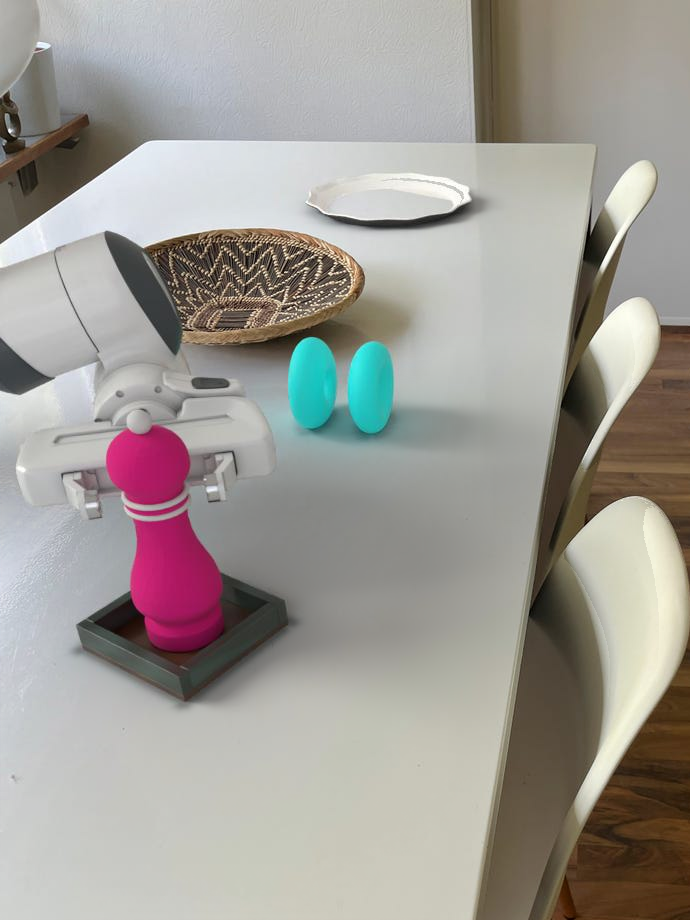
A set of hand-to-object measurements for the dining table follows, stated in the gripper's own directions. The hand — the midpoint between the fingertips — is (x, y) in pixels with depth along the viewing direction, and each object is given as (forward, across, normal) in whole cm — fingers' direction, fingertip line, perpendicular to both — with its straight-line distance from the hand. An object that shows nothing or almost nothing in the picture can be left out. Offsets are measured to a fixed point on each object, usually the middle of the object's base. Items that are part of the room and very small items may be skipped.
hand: (154, 503), depth 79 cm
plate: (-117, +44, +13) cm, 126 cm away
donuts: (-35, +20, +13) cm, 42 cm away
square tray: (0, 0, +13) cm, 13 cm away
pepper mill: (0, 0, +12) cm, 12 cm away
